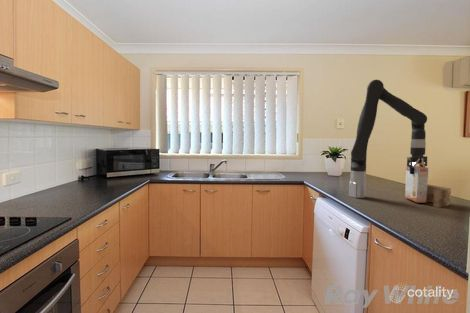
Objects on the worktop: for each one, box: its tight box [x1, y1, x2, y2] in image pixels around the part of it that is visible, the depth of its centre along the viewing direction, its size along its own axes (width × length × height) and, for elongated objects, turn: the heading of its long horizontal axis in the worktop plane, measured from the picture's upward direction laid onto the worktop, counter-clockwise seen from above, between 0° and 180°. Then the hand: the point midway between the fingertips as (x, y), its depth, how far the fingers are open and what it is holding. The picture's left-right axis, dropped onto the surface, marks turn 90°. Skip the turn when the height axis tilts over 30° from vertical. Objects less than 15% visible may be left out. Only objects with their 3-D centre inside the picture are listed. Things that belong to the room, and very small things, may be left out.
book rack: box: [426, 184, 452, 208], centre depth 164 cm, size 10×21×10 cm, turn 20°
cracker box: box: [404, 165, 429, 204], centre depth 166 cm, size 14×6×21 cm, turn 173°
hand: (416, 173), depth 166 cm, fingers closed on cracker box, 8 cm apart
